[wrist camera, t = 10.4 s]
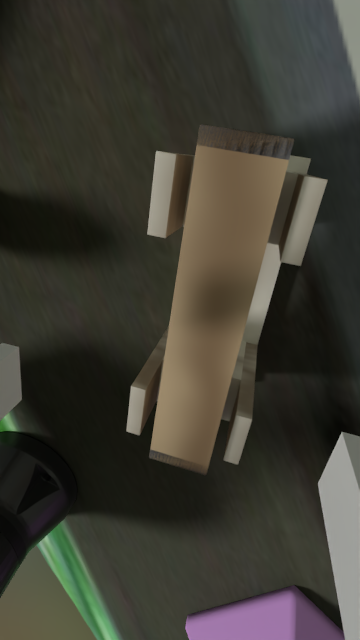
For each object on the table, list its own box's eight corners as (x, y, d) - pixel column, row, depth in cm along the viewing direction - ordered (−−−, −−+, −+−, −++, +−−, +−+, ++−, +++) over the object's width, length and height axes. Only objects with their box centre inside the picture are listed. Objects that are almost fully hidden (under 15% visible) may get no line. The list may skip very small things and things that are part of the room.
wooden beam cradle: (167, 361, 35) (125, 441, 25) (202, 141, 26) (158, 127, 16) (245, 381, 34) (234, 474, 24) (308, 159, 25) (335, 155, 15)
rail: (168, 411, 28) (149, 457, 23) (216, 133, 19) (199, 124, 15) (216, 424, 27) (206, 475, 23) (288, 145, 19) (294, 138, 14)
